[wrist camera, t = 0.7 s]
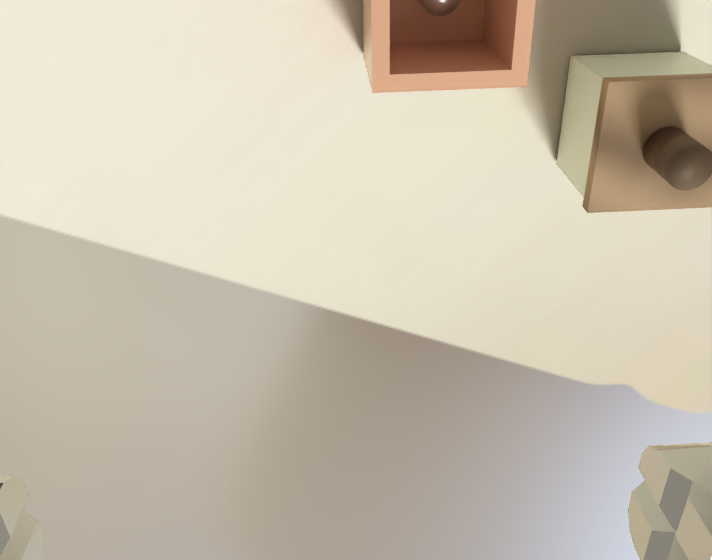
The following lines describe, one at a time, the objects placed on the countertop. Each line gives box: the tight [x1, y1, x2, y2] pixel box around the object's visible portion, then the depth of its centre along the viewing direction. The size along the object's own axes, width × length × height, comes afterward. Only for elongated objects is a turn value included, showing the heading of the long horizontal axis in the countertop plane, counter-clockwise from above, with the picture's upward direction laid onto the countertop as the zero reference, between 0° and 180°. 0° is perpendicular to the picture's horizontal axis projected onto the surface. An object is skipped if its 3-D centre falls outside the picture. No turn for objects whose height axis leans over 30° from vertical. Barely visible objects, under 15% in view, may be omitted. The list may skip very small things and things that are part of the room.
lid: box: [583, 73, 712, 213], centre depth 42 cm, size 9×9×4 cm
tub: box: [557, 52, 712, 197], centre depth 47 cm, size 8×8×7 cm
